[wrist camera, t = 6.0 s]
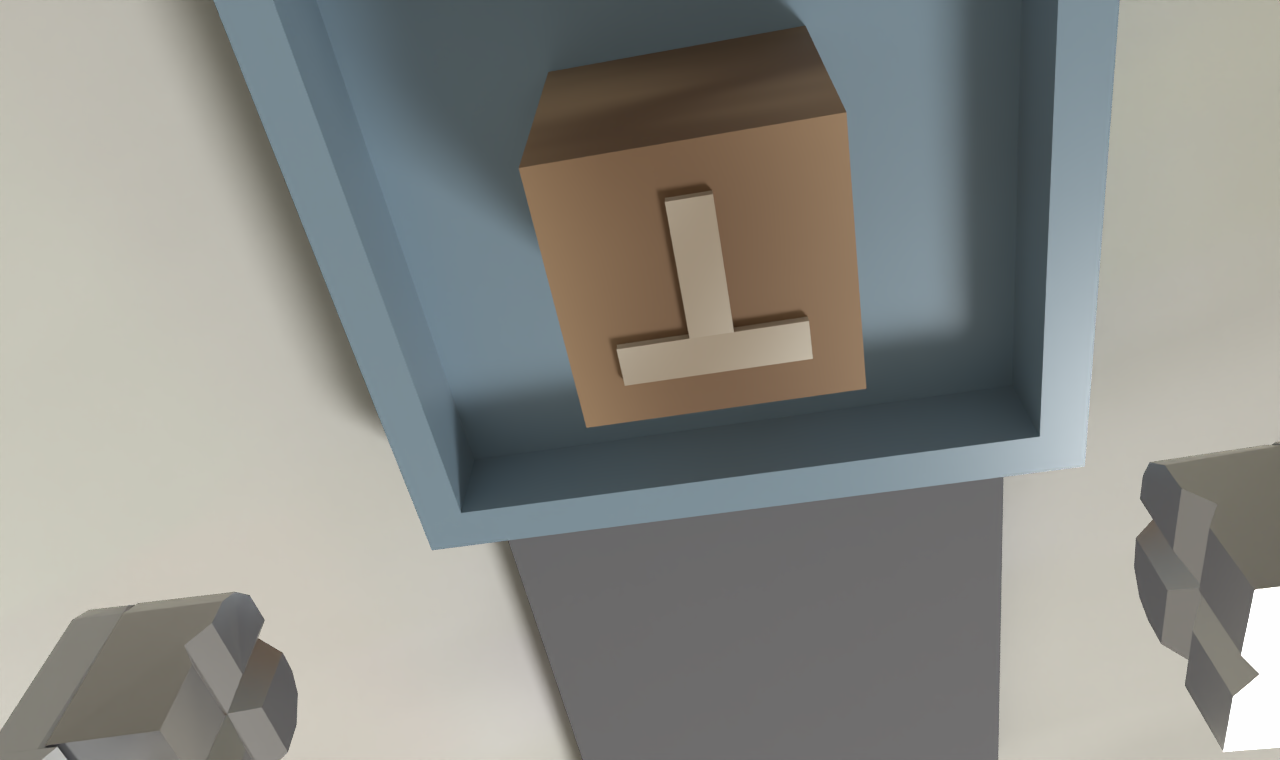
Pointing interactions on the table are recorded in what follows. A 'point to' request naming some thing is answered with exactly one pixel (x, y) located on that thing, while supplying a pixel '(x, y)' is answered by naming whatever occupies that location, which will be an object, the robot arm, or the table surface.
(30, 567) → the table surface
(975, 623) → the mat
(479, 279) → the slate tray
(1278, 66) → the table surface
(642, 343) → the letter cube
